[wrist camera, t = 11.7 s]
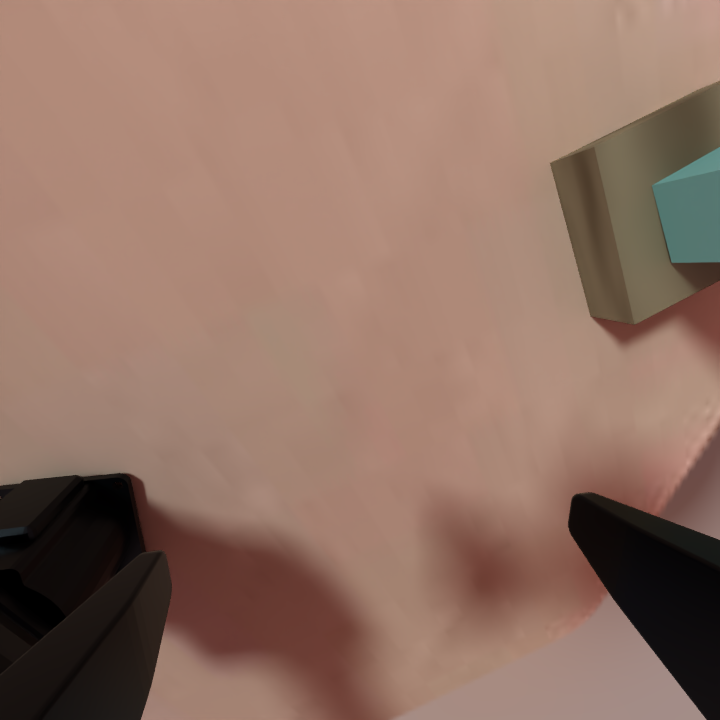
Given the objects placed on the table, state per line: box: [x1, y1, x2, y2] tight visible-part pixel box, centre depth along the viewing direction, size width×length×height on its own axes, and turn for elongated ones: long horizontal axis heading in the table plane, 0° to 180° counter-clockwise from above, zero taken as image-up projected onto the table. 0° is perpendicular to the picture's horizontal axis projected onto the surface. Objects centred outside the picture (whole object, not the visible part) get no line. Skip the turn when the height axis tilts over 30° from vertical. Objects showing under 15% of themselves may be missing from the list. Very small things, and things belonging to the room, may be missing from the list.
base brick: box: [550, 81, 720, 325], centre depth 20 cm, size 9×9×4 cm
